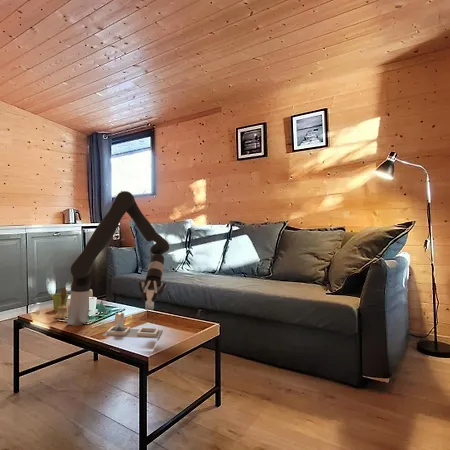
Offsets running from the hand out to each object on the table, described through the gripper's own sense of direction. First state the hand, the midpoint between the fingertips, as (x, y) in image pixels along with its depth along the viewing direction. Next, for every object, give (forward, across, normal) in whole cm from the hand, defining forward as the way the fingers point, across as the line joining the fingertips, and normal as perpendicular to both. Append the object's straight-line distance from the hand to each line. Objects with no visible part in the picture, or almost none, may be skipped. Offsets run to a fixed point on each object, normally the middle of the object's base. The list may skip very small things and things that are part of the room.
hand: (149, 300), depth 166 cm
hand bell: (-8, -53, +32) cm, 63 cm away
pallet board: (+11, -7, +13) cm, 18 cm away
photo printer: (-22, -49, +47) cm, 71 cm away
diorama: (-16, -32, +41) cm, 54 cm away
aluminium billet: (+1, 0, +4) cm, 5 cm away
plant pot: (-19, -61, +43) cm, 77 cm away
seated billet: (+10, -14, +13) cm, 21 cm away
